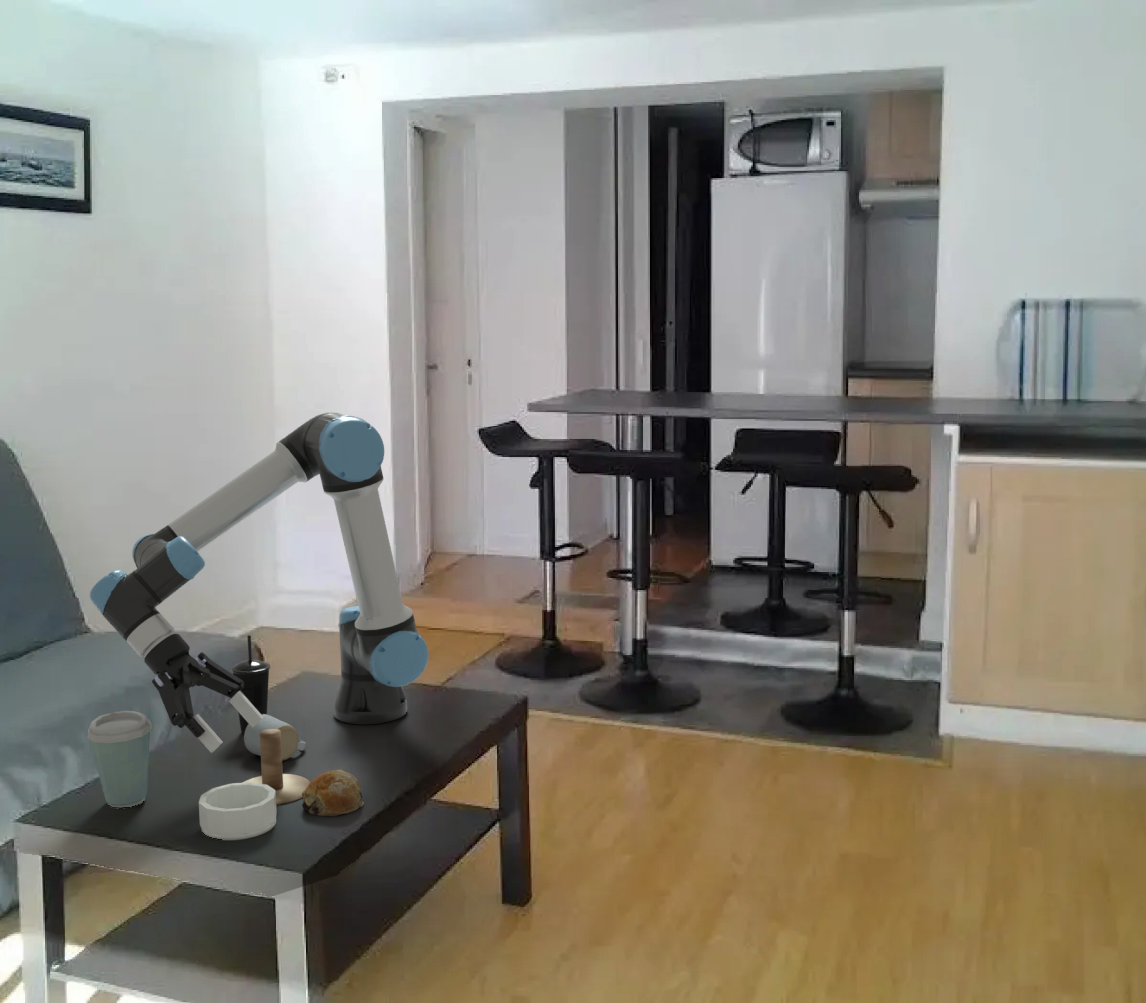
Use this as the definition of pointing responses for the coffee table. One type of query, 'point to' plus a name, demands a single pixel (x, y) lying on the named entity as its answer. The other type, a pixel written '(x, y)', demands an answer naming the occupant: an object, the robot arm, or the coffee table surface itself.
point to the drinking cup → (253, 683)
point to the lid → (277, 770)
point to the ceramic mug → (287, 736)
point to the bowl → (237, 811)
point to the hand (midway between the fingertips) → (238, 734)
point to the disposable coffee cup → (121, 756)
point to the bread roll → (332, 794)
